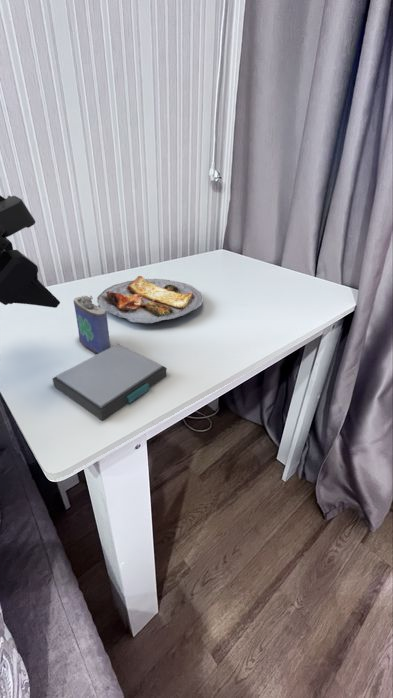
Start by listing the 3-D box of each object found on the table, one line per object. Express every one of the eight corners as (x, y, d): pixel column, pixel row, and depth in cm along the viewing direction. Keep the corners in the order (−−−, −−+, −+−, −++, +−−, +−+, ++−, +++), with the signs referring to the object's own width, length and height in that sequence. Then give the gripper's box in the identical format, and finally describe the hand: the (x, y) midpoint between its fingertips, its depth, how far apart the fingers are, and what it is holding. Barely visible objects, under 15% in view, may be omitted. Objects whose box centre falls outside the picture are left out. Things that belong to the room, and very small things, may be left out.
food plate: (79, 305, 80) (77, 291, 78) (147, 279, 96) (146, 267, 94) (155, 340, 67) (155, 325, 65) (219, 304, 83) (220, 291, 81)
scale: (104, 422, 48) (102, 410, 47) (54, 387, 54) (51, 375, 53) (168, 377, 57) (168, 366, 56) (119, 351, 64) (118, 341, 62)
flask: (114, 353, 63) (108, 301, 57) (100, 359, 61) (93, 306, 55) (88, 335, 68) (80, 286, 62) (75, 340, 66) (65, 290, 61)
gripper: (1, 181, 34) (106, 271, 46) (-31, 165, 46) (59, 240, 58) (-69, 264, 34) (55, 334, 46) (-83, 226, 46) (19, 289, 58)
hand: (47, 294), depth 52 cm, fingers open, 9 cm apart
